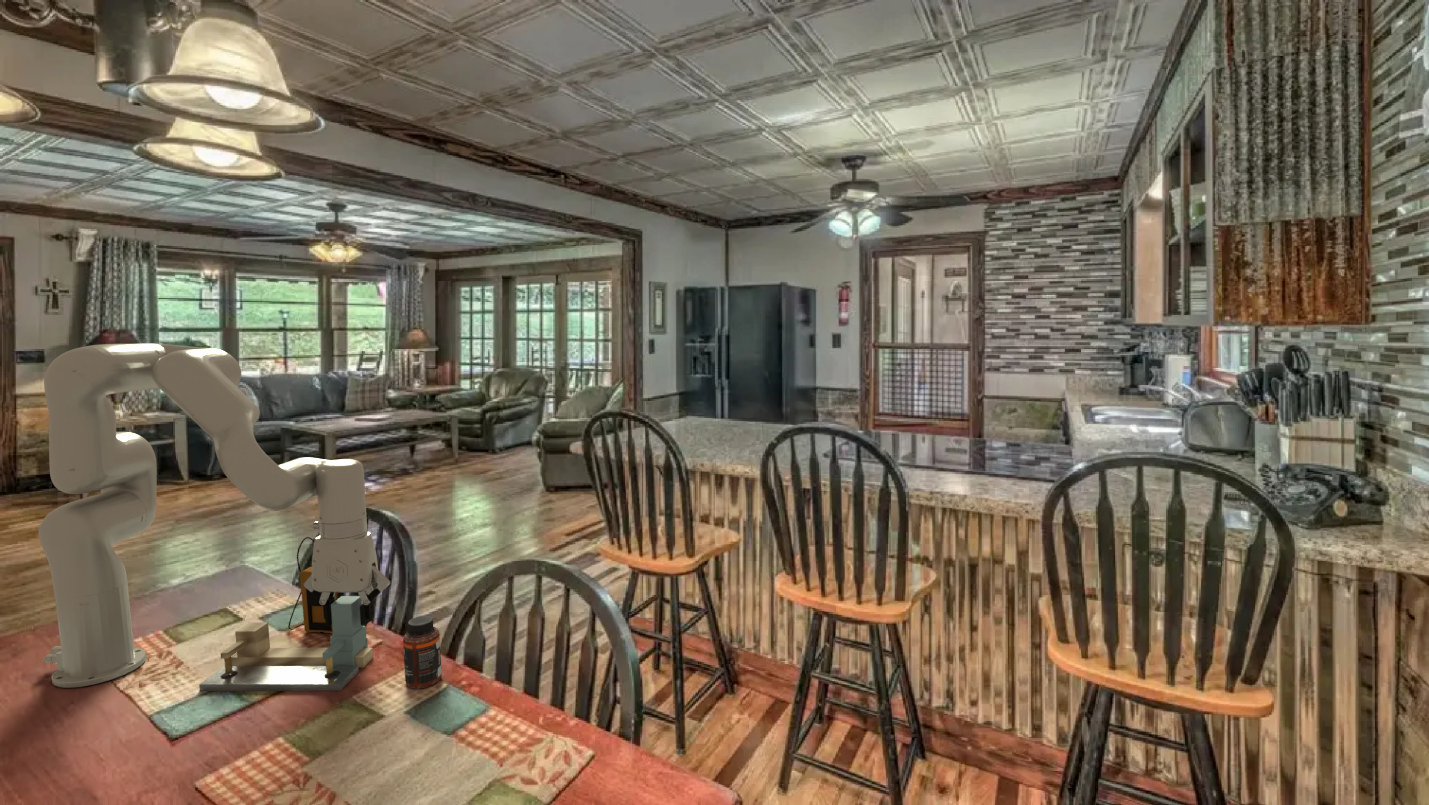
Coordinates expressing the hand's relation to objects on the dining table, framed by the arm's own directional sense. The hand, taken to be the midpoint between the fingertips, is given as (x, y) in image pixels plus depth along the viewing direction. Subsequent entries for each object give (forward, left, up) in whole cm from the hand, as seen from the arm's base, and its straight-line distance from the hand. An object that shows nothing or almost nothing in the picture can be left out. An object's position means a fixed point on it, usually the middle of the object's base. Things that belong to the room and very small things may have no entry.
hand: (349, 621), depth 122 cm
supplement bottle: (+16, -6, -8) cm, 19 cm away
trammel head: (0, -2, -8) cm, 8 cm away
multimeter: (-12, +17, -8) cm, 22 cm away
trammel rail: (-9, -3, -8) cm, 12 cm away
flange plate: (-9, -6, -8) cm, 14 cm away
